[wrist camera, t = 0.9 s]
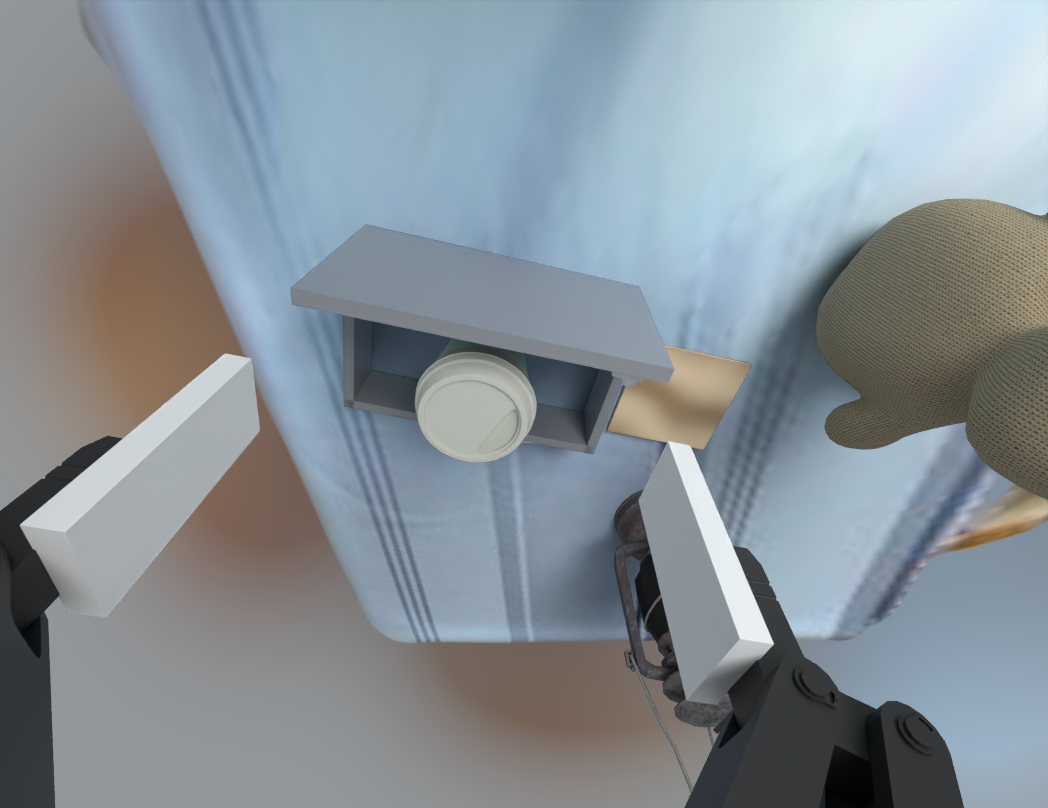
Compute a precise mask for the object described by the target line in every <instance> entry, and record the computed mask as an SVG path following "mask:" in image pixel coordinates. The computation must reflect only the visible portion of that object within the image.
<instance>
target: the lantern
mask: <svg viewBox="0 0 1048 808" xmlns="http://www.w3.org/2000/svg"><path fill="white" fill-rule="evenodd" d="M642 492H643V490H641V491H639V492H637V493H635V494H633V495H631V496H630V497H629V498H628V499H626V500H625V501H624V502H623V503H622V504H621V506H620V507H619V508H618V510H617V512H616V515H615V528H616V530H617V532H618V534H619V537H620V539H621V541H622V542H623V543H624V545H621V546H618V547H617V549H616V552H615V556H614V565H615V572H616V577H617V582H618V587H619V592H620V596H621V601H622V606H623V611H624V616H625V621H626V625H627V630H628V635H629V640H630V644H631V649H632V650H625V653H624V655H625V660H626V664H627V667H628V668H630V669H631V670H632V672H635V670H636V672H637V675H638V677H639V679H640V681H641V684H642V686H643V688H644V691H645V693H646V695H647V697H648V700H649V702H650V704H651V707H652V709H653V711H654V713H655V716H656V718H657V720H658V722H659V724H660V726H661V728H662V729H663V731H664V733H665V734H666V736H667V738H668V740H669V742H670V744H671V746H672V747H673V749H674V752H675V754H676V757H677V759H678V762H679V764H680V767H681V769H682V771H683V774H684V777H685V779H686V782H687V784H688V787H689V789H690V792H691V793H692V791H693V787H692V784H691V782H690V779H689V777H688V774H687V772H686V769H685V767H684V765H683V762H682V760H681V757H680V755H679V752H678V750H677V747H676V745H675V744H674V742H673V740H672V738H671V737H670V735H669V733H668V731H667V730H666V728H665V726H664V724H663V723H662V721H661V719H660V717H659V714H658V712H657V710H656V708H655V705H654V703H653V701H652V699H651V696H650V694H649V692H648V689H647V687H646V685H645V683H644V681H643V678H642V676H641V674H642V675H643V676H645V677H646V678H649V679H655V680H661V681H664V682H663V693H664V695H666V696H667V697H668V698H669V699H670V700H672V701H674V702H677V703H678V704H677V705H676V707H675V708H674V711H675V716H676V717H677V718H678V719H679V720H680V721H682V722H685V723H688V724H691V725H693V726H699V727H707V728H708V732H709V736H710V740H711V744H712V748H713V745H714V742H713V738H712V734H711V730H710V727H716V726H717V725H718V724H719V723H720V722H721V721H722V720H723V719H724V718H725V717H726V716H727V715H728V714H729V713H730V712H731V711H732V710H733V707H732V704H731V701H730V698H729V695H728V693H727V694H726V695H725V696H724V697H723V698H722V700H721V701H720V702H719V703H718V704H717V705H714V704H707V703H700V702H693V701H686V697H685V692H684V688H683V684H682V680H681V676H680V672H679V667H678V663H677V659H676V655H675V651H674V646H673V642H672V638H671V634H670V630H669V626H668V621H667V617H666V613H665V609H664V605H663V600H662V596H661V592H660V588H659V584H658V580H657V575H656V571H655V567H654V563H653V559H652V554H651V550H650V546H649V542H648V538H647V534H646V529H645V525H644V521H643V517H642V513H641V509H640V504H639V498H640V496H641V494H642ZM629 556H633V557H634V558H636V559H638V560H640V561H641V563H640V572H639V573H638V575H637V577H636V579H635V585H636V592H637V598H638V604H639V608H640V611H641V615H642V618H643V622H644V628H645V629H646V631H647V632H650V633H651V634H652V636H653V637H654V639H655V640H656V642H657V644H658V649H659V652H660V653H661V654H662V655H663V656H664V657H665V658H664V659H663V660H662V662H661V663H662V667H660V666H655V665H653V664H651V663H650V662H648V661H646V659H645V655H644V652H643V647H642V644H641V639H640V634H639V629H638V624H637V619H636V614H635V610H634V605H633V600H632V595H631V590H630V585H629V581H628V576H627V571H626V566H625V558H626V557H629ZM646 627H647V628H646ZM628 655H629V656H628Z"/></svg>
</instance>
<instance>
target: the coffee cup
mask: <svg viewBox="0 0 1048 808" xmlns="http://www.w3.org/2000/svg"><path fill="white" fill-rule="evenodd" d="M536 408H537V404H536V397H535V393H534V390H533V388H532V386H531V384H530V382H529V377H528V370H527V364H526V357H525V353H521V352H517V351H512V350H507V349H502V348H498V347H493V346H488V345H483V344H478V343H474V342H469V341H464V340H459V339H455V338H450V340H449V341H448V343H447V345H446V346H445V348H444V349H443V351H442V352H441V354H440V355H439V357H438V358H437V360H436V362H435V363H433V364H432V365H431V366H430V367H429V368H428V369H427V370H426V371H425V372H424V373H423V375H422V376H421V378H420V380H419V382H418V384H417V388H416V394H415V410H416V414H417V417H418V423H419V426H420V429H421V431H422V433H423V435H424V436H425V438H426V439H427V440H428V441H429V442H430V444H431V445H432V446H434V447H435V448H436V449H437V450H439V451H440V452H442V453H443V454H445V455H447V456H449V457H452V458H454V459H457V460H461V461H466V462H476V463H477V462H489V461H493V460H497V459H500V458H502V457H504V456H506V455H508V454H510V453H511V452H513V451H514V450H515V449H516V448H517V447H518V446H519V445H520V444H521V442H522V441H523V439H524V438H525V437H526V435H527V434H528V433H529V431H530V429H531V427H532V424H533V421H534V419H535V415H536Z"/></svg>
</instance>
